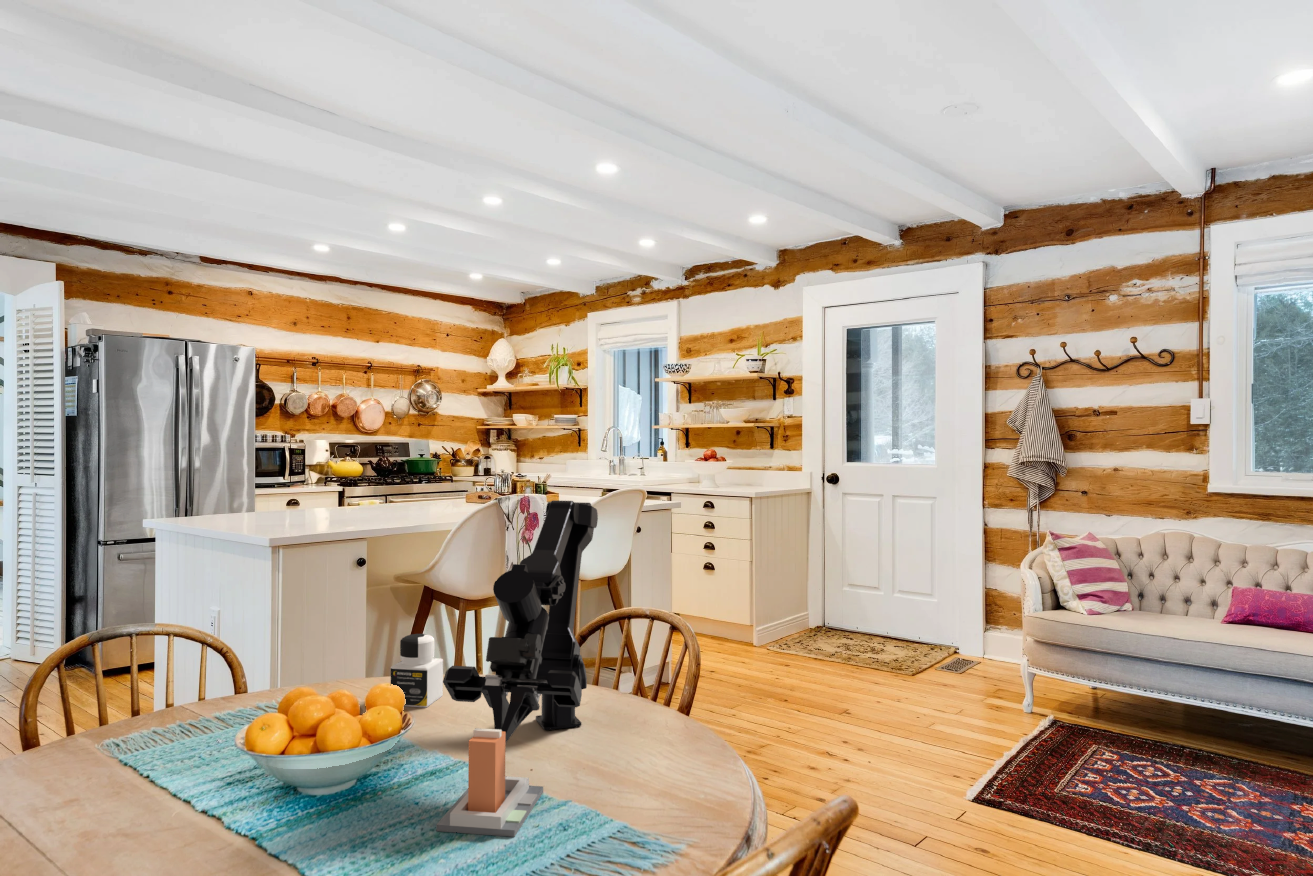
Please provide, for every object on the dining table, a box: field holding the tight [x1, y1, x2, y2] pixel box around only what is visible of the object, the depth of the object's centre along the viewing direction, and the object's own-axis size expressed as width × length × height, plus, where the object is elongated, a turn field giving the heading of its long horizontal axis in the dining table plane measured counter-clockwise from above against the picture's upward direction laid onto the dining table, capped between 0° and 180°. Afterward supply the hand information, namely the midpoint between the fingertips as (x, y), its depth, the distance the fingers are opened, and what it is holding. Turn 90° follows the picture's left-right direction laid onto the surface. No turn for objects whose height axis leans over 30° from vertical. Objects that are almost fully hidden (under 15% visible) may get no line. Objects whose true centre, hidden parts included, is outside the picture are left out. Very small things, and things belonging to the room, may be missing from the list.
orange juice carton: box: [467, 727, 506, 813], centre depth 108 cm, size 4×4×10 cm
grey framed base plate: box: [435, 775, 544, 838], centre depth 110 cm, size 13×10×2 cm
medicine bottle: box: [390, 633, 444, 709], centre depth 155 cm, size 7×7×12 cm
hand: (499, 745), depth 112 cm, fingers closed
